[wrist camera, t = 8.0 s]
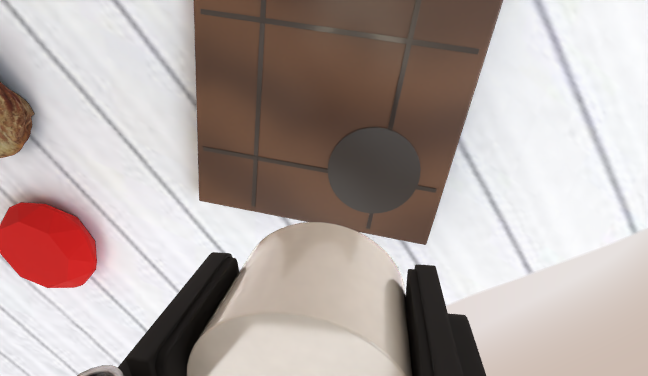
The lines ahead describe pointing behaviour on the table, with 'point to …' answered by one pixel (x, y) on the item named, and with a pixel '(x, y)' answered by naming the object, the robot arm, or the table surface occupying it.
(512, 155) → the table surface
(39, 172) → the table surface
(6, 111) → the stone
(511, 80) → the table surface
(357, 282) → the cream cylinder puck
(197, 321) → the robot arm
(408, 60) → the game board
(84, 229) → the gemstone
